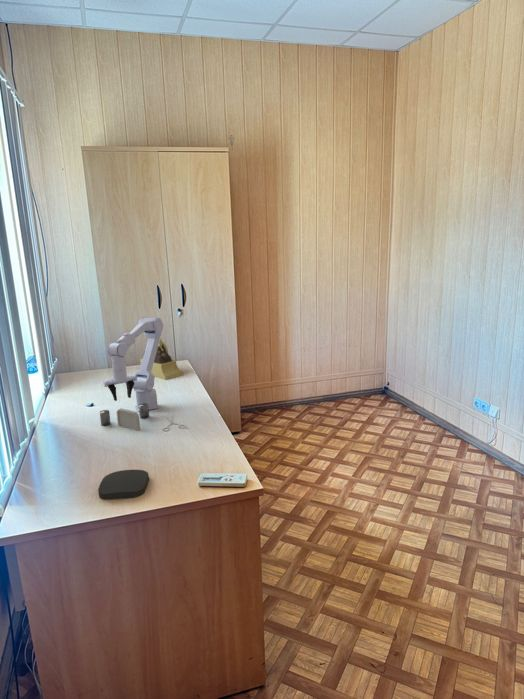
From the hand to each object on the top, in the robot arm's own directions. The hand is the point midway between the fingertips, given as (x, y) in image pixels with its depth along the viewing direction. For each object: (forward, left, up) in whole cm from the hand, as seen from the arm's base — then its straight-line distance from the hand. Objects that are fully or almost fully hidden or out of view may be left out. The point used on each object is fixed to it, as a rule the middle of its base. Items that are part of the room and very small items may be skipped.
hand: (122, 398), depth 211 cm
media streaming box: (+10, +63, -10) cm, 65 cm away
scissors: (-18, +16, -10) cm, 26 cm away
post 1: (+9, +3, -9) cm, 13 cm away
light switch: (0, +12, -10) cm, 15 cm away
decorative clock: (-32, -66, -10) cm, 74 cm away
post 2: (-8, +3, -9) cm, 13 cm away
